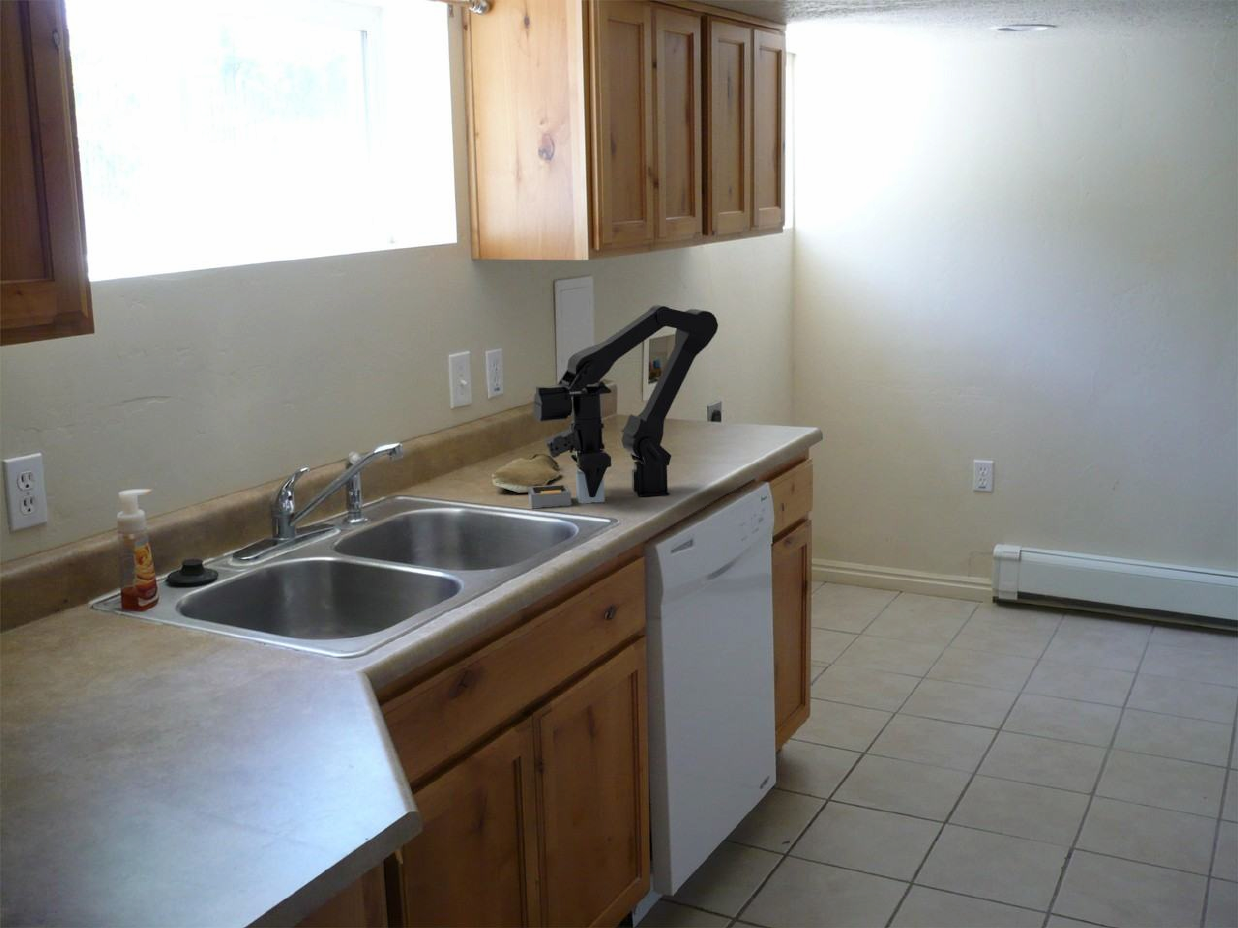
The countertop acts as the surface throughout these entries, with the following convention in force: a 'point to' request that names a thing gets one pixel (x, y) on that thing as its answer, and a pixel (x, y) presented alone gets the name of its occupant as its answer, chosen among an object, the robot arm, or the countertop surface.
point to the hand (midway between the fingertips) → (590, 494)
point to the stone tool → (526, 473)
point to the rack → (549, 496)
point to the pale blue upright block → (583, 490)
